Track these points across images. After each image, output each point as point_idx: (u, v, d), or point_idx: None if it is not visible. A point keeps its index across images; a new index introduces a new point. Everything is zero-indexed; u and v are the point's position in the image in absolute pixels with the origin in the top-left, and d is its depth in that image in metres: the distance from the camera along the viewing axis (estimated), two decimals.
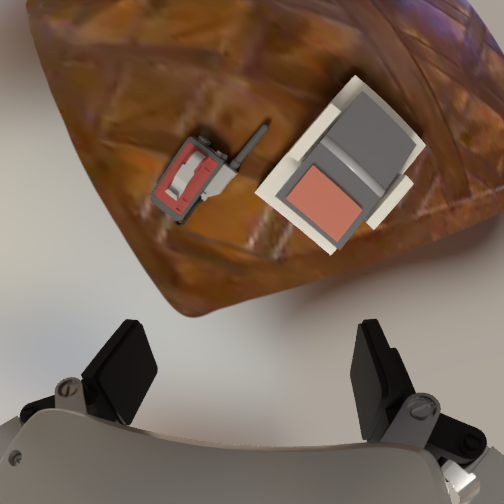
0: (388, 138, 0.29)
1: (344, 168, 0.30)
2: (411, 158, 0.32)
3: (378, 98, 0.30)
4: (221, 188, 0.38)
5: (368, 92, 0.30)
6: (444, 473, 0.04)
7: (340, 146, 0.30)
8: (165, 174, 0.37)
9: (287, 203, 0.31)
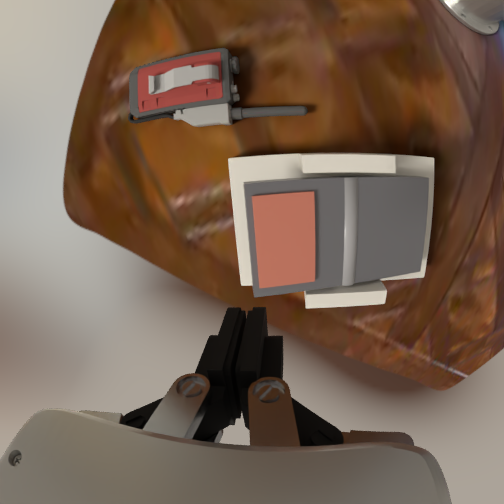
0: (405, 241, 0.24)
1: (339, 226, 0.23)
2: (400, 275, 0.29)
3: (431, 197, 0.25)
4: (200, 122, 0.26)
5: None
6: None
7: (358, 202, 0.22)
8: (167, 61, 0.23)
9: (248, 202, 0.22)
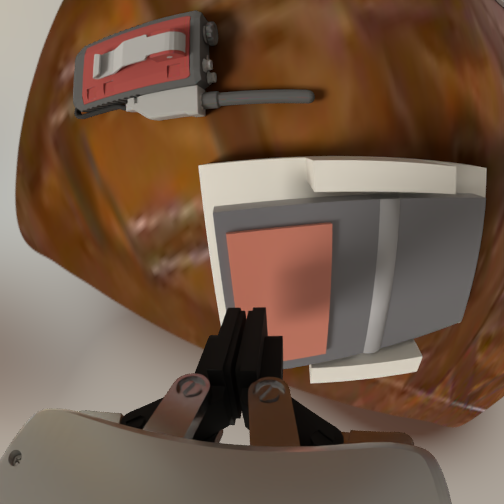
0: (450, 287, 0.15)
1: (368, 275, 0.14)
2: None
3: None
4: (159, 114, 0.17)
5: None
6: None
7: (397, 237, 0.14)
8: (120, 34, 0.14)
9: (220, 244, 0.13)
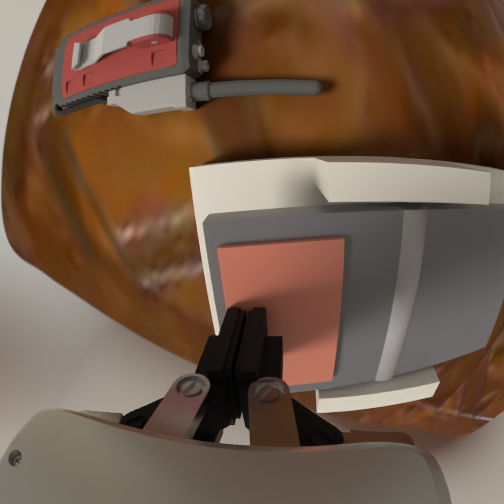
0: (478, 310, 0.12)
1: (385, 298, 0.12)
2: None
3: None
4: (142, 108, 0.15)
5: None
6: None
7: (422, 255, 0.11)
8: (104, 20, 0.12)
9: (212, 258, 0.11)
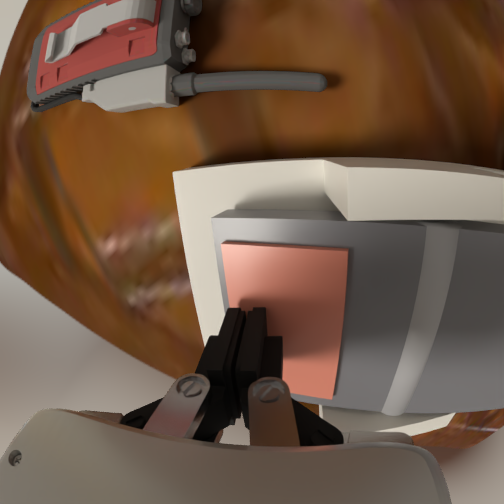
0: None
1: (398, 326, 0.10)
2: None
3: None
4: (117, 104, 0.12)
5: None
6: None
7: (449, 284, 0.08)
8: (83, 8, 0.09)
9: (219, 252, 0.12)
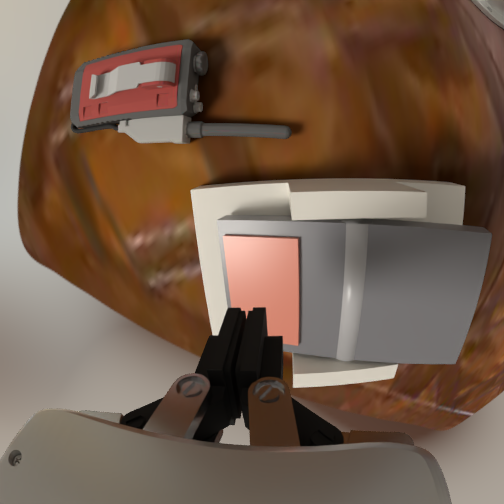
0: (437, 322, 0.15)
1: (335, 288, 0.17)
2: None
3: None
4: (147, 139, 0.19)
5: (456, 220, 0.18)
6: None
7: (366, 259, 0.15)
8: (117, 55, 0.16)
9: (221, 242, 0.19)
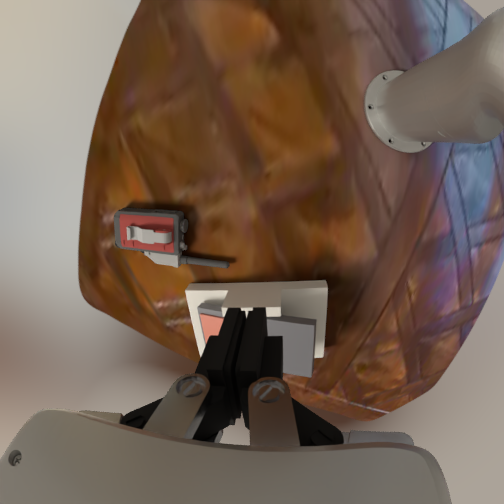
0: (294, 357, 0.38)
1: None
2: None
3: (324, 312, 0.42)
4: (160, 263, 0.42)
5: (322, 304, 0.41)
6: None
7: None
8: (138, 214, 0.39)
9: (199, 315, 0.42)
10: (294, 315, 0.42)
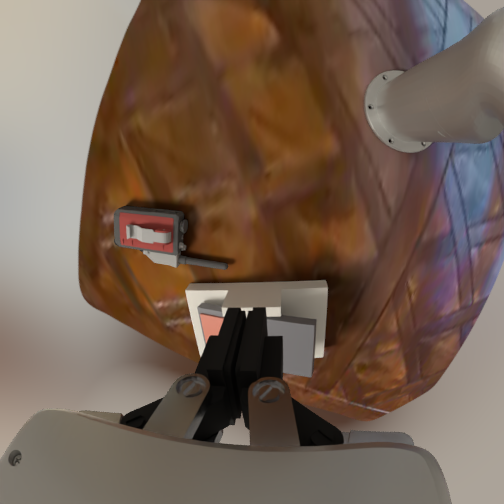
0: (294, 357, 0.38)
1: None
2: None
3: (324, 312, 0.42)
4: (159, 262, 0.42)
5: (322, 304, 0.41)
6: None
7: None
8: (138, 213, 0.39)
9: (199, 315, 0.42)
10: (294, 315, 0.42)
